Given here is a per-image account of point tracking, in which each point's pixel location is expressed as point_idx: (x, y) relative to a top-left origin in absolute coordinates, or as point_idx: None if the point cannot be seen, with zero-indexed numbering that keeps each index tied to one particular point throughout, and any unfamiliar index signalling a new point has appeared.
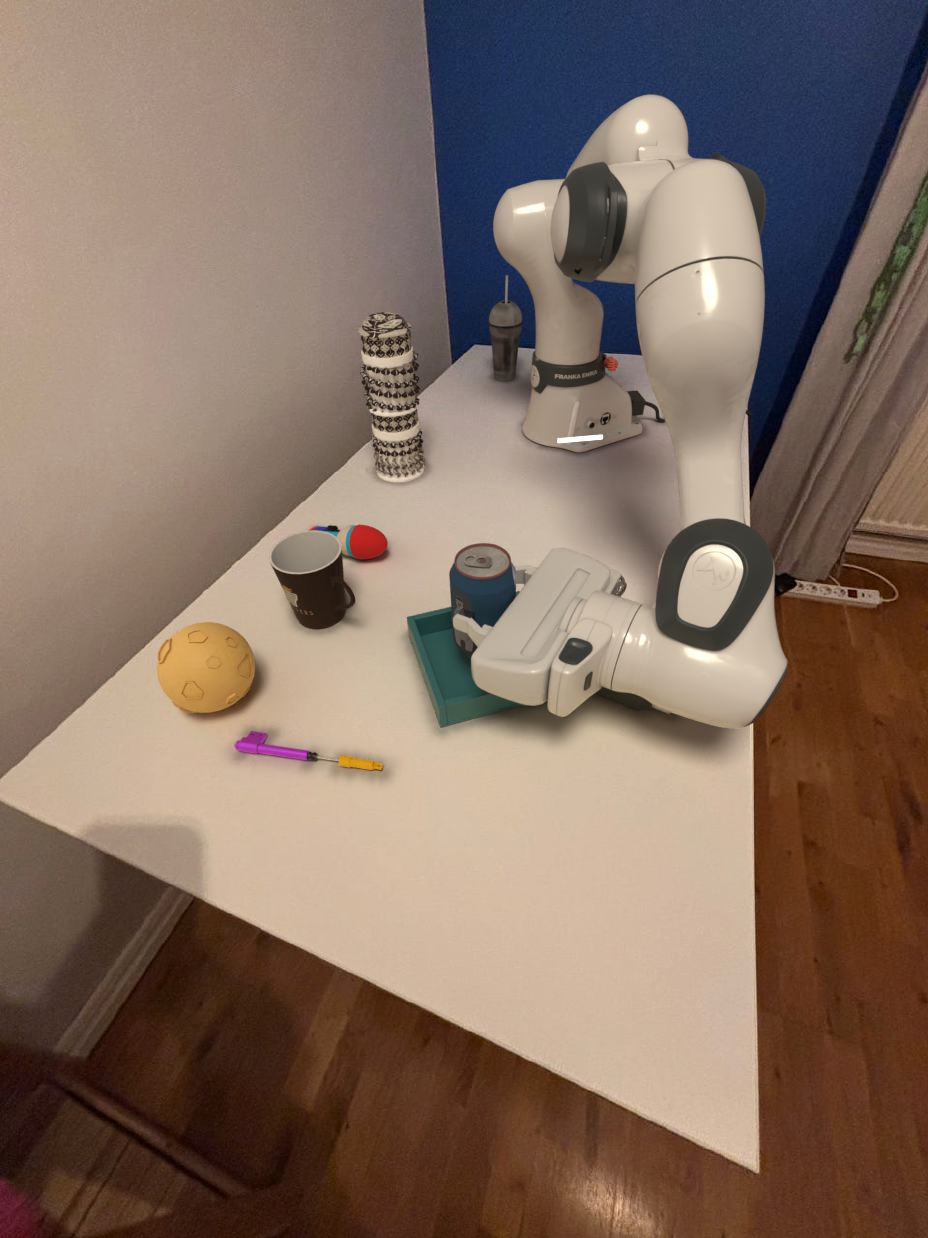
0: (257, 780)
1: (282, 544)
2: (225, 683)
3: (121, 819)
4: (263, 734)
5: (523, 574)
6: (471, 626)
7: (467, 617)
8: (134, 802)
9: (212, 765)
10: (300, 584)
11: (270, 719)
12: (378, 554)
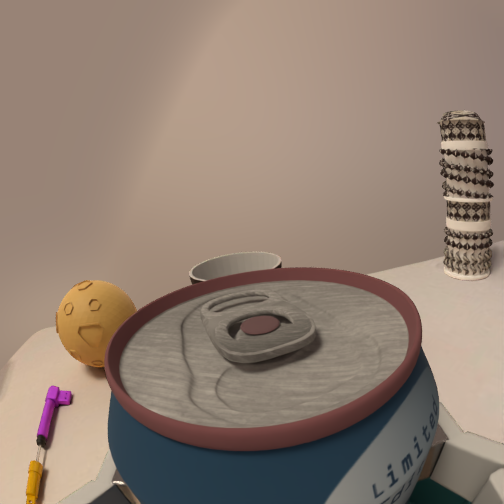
0: (27, 417)
1: (238, 258)
2: (67, 333)
3: (11, 369)
4: (66, 399)
5: (486, 477)
6: (71, 494)
7: (112, 474)
8: (20, 369)
9: (43, 387)
10: None
11: (89, 398)
12: None
